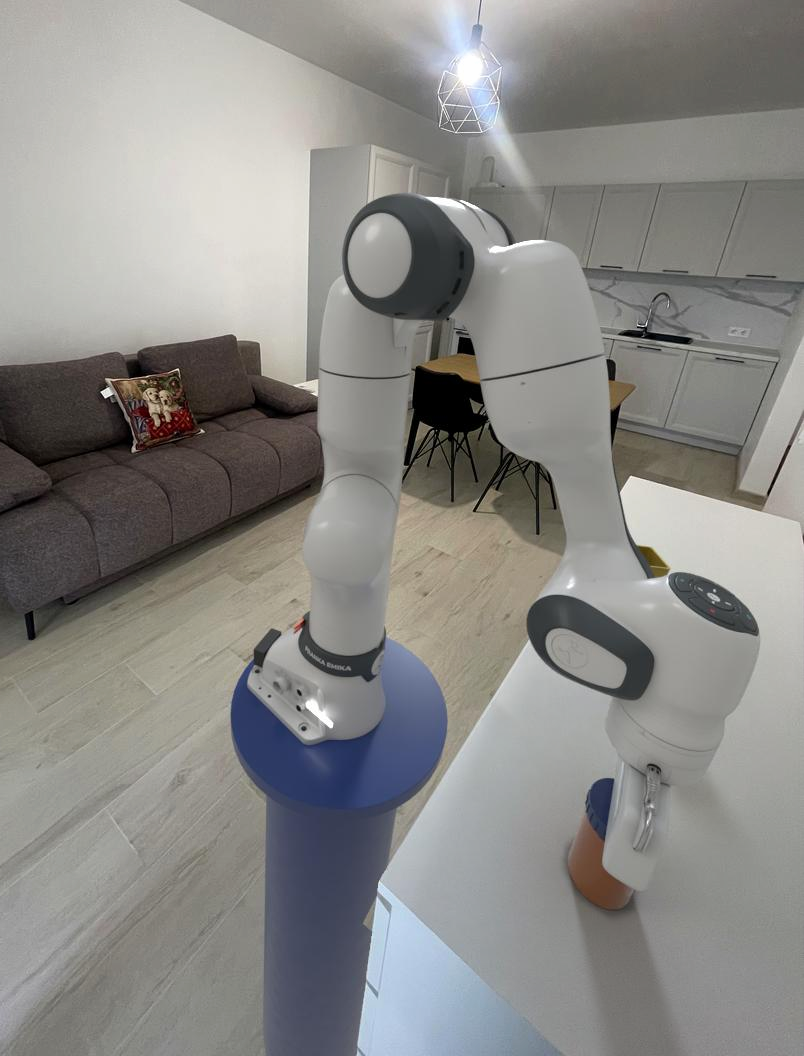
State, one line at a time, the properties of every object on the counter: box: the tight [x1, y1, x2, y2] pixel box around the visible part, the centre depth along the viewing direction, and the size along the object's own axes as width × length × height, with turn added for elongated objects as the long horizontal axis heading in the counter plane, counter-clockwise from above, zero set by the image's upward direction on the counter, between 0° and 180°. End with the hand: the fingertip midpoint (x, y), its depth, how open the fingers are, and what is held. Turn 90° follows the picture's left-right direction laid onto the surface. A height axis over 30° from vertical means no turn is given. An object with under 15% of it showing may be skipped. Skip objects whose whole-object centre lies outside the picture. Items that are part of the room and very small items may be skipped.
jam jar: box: [567, 807, 635, 911], centre depth 55 cm, size 7×7×10 cm
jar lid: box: [584, 777, 615, 841], centre depth 53 cm, size 7×7×2 cm
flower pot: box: [636, 544, 671, 578], centre depth 108 cm, size 9×9×9 cm
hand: (619, 824), depth 53 cm, fingers closed on jar lid, 7 cm apart
